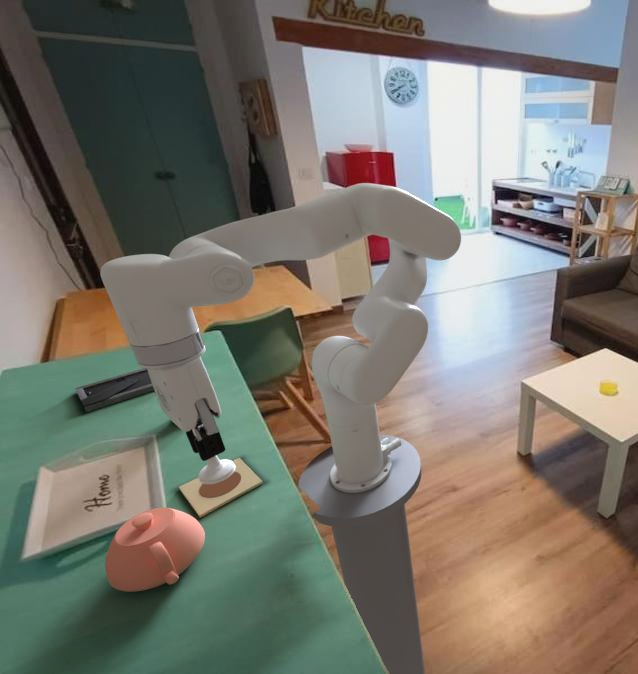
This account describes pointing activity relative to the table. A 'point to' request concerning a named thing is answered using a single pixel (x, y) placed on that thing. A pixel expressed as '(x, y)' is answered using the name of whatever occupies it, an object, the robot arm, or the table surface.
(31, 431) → the table surface
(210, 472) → the chess piece
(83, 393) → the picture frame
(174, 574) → the sugar bowl
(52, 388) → the table surface
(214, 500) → the beige square coaster
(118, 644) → the table surface
